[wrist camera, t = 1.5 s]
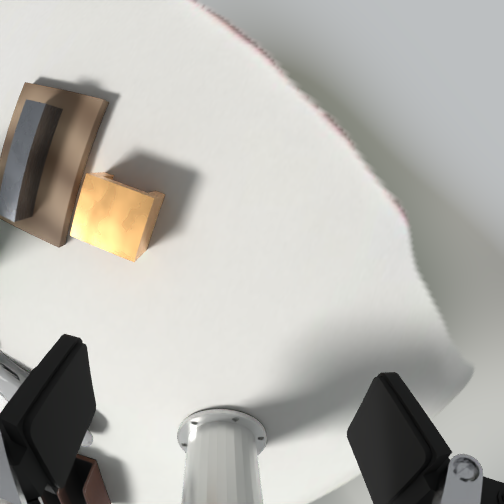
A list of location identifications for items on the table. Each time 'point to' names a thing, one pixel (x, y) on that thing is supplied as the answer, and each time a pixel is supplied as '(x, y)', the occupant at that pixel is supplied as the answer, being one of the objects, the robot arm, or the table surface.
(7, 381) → the car model
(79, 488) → the letter holder
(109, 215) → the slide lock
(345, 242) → the table surface
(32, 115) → the rail
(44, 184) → the rail base
